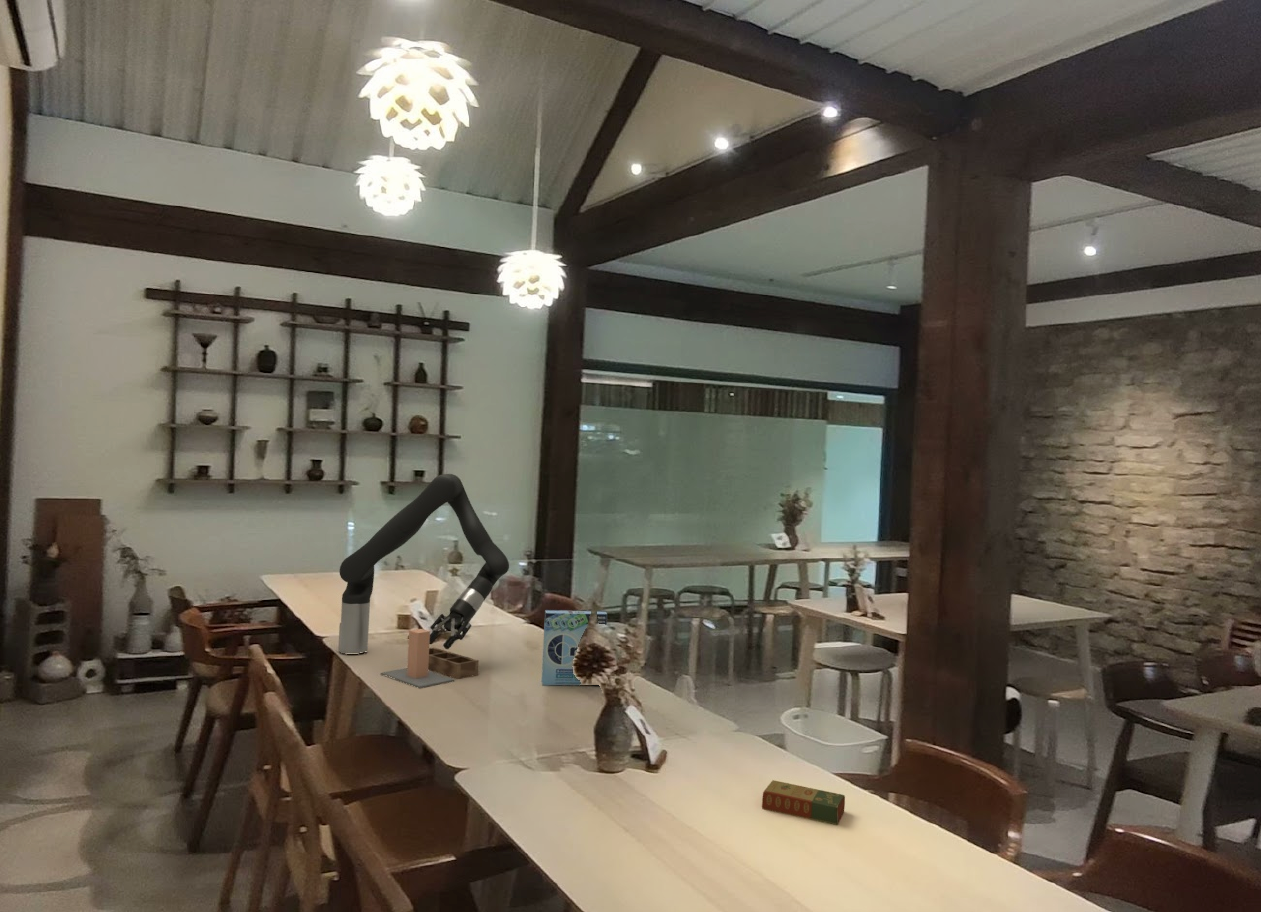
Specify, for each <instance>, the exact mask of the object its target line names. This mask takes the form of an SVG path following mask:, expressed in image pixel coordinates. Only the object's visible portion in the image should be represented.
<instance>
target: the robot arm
mask: <svg viewBox="0 0 1261 912" xmlns="http://www.w3.org/2000/svg"><path fill="white" fill-rule="evenodd" d="M446 503H447V504H448V505H449V506H450V507H451V509H452V510H453V511H454V513H455V515H456V517H457V519H458V521H459V524H460V527H461V530H462V533H463V535H464V537H465V538H466V540H467V542H468V543H469V546H470V547H471V549H472V550H473V552H474V553H475V554H476V555H477V556H480V557H482V559H483V561H484V562H485V563H483V565H482V567H481V568H480V570H479V571H478V573H477V575H476V576H475V577H474V579H472V581H471V582H470V583H469V584H468V586H467V587H466V589H464V590H463V592H462V593H460V595H459V596H458V598H457V599H456V600H455V602H454V603H453V604H452V605H451V607H450V608H449V614H447V616H446V615H444V614H443V613H440V615H439V616H438V617H437V618H436V620H435V621H434V622H433V623H432V624H431V625H430V629H431V630H432V632H430V643H429V645H433V644H434V642H435V641H436V639H437V638H439V636H440V635H441V634H442V633H443V634H444V633H447V632H450V636H448V638H447V639H445V642H444V643H443V644H442V646H443V648H445V649H444V650H449V649H450V648H451V647H452V646H453V644H454V643H455V642H456V641H458V640H460V641H462V640H464V638H465V636H466V635H467V633H468V632H469V631H470V629H471V627H472V624H471V623H470V622H471V620H472V619H473V618H474V617H475V615H476V613H477V612H478V611H479V609H480V608H481V607H482V604H483V603H484V602H485V600H486V599H487V598H488V596H489V595H490V594H491V593H492V590H493V586H495V584H496V583H497V582H498V581H499V580H500V578H501V577H502V576H504V575H506V573H508V571H509V569H510V562H509V560H508V557H507V556H506V555H505V553H504V552H503V551H502V550H501V549H500V548H499V547H498V546H497V544H495V542H494V541H493V540H492V537H491V536H490V534H489V533H488V531H487V529H486V528H485V527H484V525H483V523H482V522H481V520H480V518H479V516H478V515H477V513H476V510H474V507H473V506H472V504H471V501H470V499H469V497H468V494H467V492H466V489H465V487H464V484H463V481H462V480H461V479H460V477H459V476H458V475H455V474H453V473H443V474H439V475H438V476H436V477H434V478H433V479H432V480H431V481H430V483H428V485H427V486H426V487H425V489H424V490H423V491H422V492H421V493H420V494H419V495H418V496H417V497H415V499H413V500H412V501H411V502H410V503H408V504H407V505H406V506H405V507H403V508H401V510H399V511H398V512H397V513H396V514H395V515H394V516H393V517H392V518H390V519H389V520H388V521H387V522H386V523H385V524H384V525H383V526H381V528H380V529H379V530H378V531H377V532H376V533H374V535H373V536H372V537H371V538H370V539H369V540H368V541H366V543H365V544H363V545H362V546H361V547H360V548H359V549H357V550H356V551H355V552H353V553H351V554H350V555H349V556H347V557H346V558H344V560H342V562H341V564H340V566H339V576H340V579H341V580H343V581H344V582H345V583H347V584H346V587H345V590H344V591H343V593H342V595H341V596H342V597H341V609H340V611H341V615H340V622H339V628H338V629H339V630H338V647H337V649H338V650H339V651H340V652H341V653H340V652H339V653H340V654H342V653H360V652H365V651H367V652H368V649H369V648H368V647H369V646H368V645H369V631H370V629H369V628H370V627H369V626H370V613H371V612H370V611H371V610H370V609H371V608H370V607H371V605H370V604H371V597H372V594H373V590H374V582H375V581H374V580H375V565H376V564H377V563H379V561H381V560H382V559H384V558H385V557H387V556H389V555H390V554H391V553H393V552H395V551H396V550H398V549H399V548H401V547H402V546H403V545H405V544H406V543H407V542H409V540H411V538H413V537H414V536H415V535H416V534H417V533H418V532H419V531H420V529H421V528H422V527H423V525H424V524H425V523H426V521H427V520H428V518H429V517H430V516H431V514H433V513H434V512H436V511H437V510H438V509H439V508H440V507H442V506H443V505H445V504H446Z"/></svg>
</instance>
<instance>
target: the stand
mask: <svg viewBox="0 0 1261 912" xmlns="http://www.w3.org/2000/svg"><path fill="white" fill-rule="evenodd" d="M479 664H480V662H479V660H478V659H474V658H473V657H472V658H471V657H468V656H464V655H461V654H458V653H454V652H451V651H447V650H446V649H441V648H437V647H429V663H428V671H431V672H434V673H437V674H440V675H443V676H446V675H447V676H446V677H450V676H451V677H450V678H453V677H454V678H453V679H456V680H458V678H459V679H463V677H464V678H469V677H472V675H474V676H479ZM468 676H469V677H468Z"/></svg>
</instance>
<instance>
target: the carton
mask: <svg viewBox="0 0 1261 912" xmlns="http://www.w3.org/2000/svg"><path fill="white" fill-rule="evenodd" d="M761 801H762V802H761V809H762V810H764V811H769V812H773V813H778V814H782V815H788V816H792V817H796V818H797V817H798V818H800V819H807V820H811V821H815V822H819V823H824V824H828V825H833V826H839V823H840V821H841V819H842V817H843V815H844V812H845V804H846V795H844V794H841V793H836V792H832V791H826V790H823V789H821V790H820V789H816V788H813V787H806V786H802V785H798V784H793V783H789V782H783V781H777V780H773V779H772V780H771V781H770V783H769V784H768V785H767V787H766V788H765V789H764V791H763V792H762V799H761Z"/></svg>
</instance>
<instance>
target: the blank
mask: <svg viewBox="0 0 1261 912" xmlns="http://www.w3.org/2000/svg"><path fill="white" fill-rule="evenodd" d="M430 634H431V631H430V630H426V629H424V628H418V629H410V630H409V631H408V647H407V648H408V650H407V667H406V668H407V676H410V677H413V678H421V677H426V676H428V671H429V670H428V663H429V648H430V644H429V643H430Z"/></svg>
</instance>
